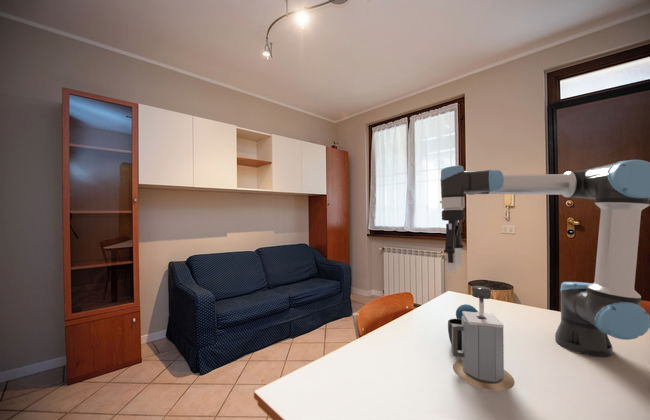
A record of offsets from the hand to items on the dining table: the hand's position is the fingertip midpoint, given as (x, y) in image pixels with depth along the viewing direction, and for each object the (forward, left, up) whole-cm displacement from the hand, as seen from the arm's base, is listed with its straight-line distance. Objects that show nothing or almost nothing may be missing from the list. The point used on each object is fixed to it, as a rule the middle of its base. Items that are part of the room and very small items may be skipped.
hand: (454, 268), depth 97 cm
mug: (-3, -1, -29) cm, 29 cm away
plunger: (-5, +15, -15) cm, 21 cm away
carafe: (-3, +15, -28) cm, 32 cm away
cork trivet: (-5, +15, -29) cm, 33 cm away
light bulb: (-7, -13, -29) cm, 32 cm away
